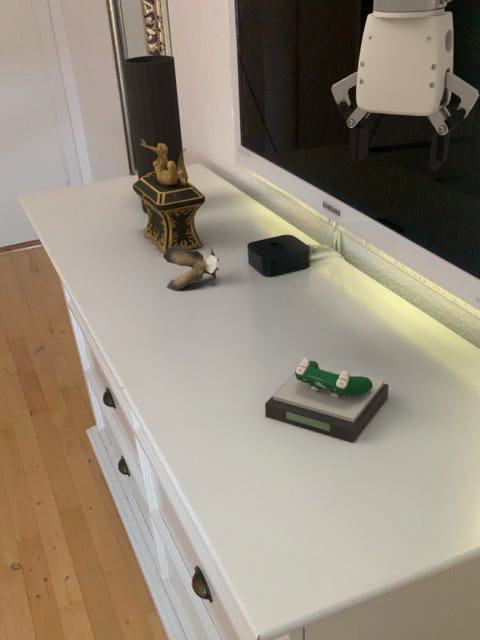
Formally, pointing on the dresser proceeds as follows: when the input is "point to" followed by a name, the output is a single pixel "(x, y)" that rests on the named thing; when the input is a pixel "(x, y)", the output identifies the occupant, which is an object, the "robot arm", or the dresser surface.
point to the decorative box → (169, 202)
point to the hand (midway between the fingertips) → (396, 163)
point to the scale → (326, 407)
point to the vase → (153, 109)
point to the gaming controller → (332, 380)
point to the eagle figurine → (190, 265)
